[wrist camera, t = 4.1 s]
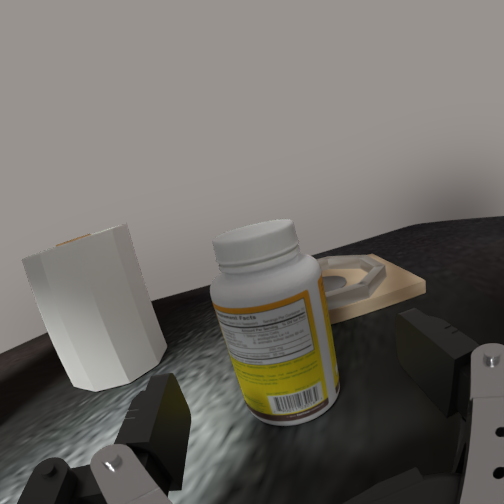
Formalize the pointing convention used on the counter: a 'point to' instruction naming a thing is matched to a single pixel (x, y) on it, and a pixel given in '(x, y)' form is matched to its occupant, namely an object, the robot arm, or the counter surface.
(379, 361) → the counter surface
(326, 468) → the counter surface
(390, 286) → the seat plate
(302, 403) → the supplement bottle
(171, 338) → the counter surface
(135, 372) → the toilet paper
